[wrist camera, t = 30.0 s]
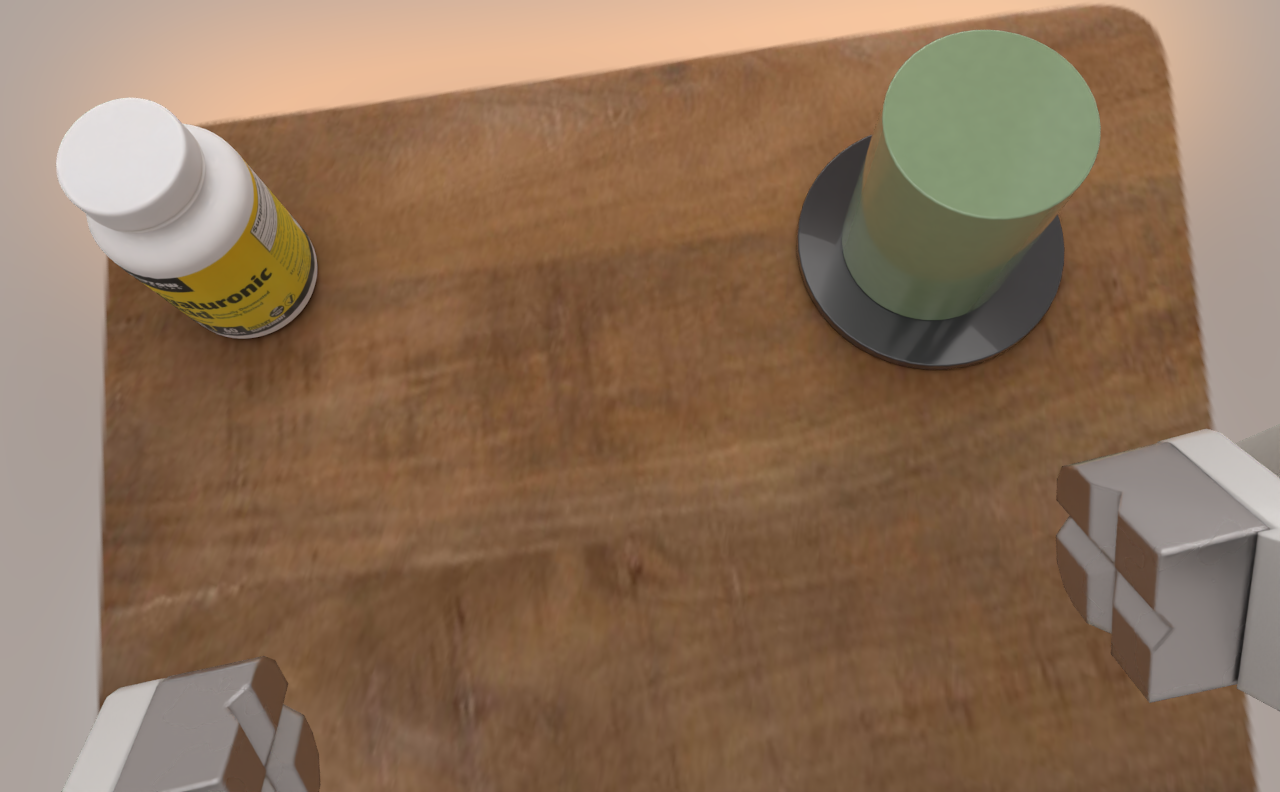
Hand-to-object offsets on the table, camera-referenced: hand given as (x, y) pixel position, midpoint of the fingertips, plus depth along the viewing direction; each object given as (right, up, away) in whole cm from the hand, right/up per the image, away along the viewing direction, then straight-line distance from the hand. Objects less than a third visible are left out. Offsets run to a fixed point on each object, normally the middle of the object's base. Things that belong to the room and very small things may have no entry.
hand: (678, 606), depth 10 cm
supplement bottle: (-16, +7, +29) cm, 34 cm away
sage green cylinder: (+11, +8, +28) cm, 31 cm away
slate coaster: (+11, +8, +28) cm, 31 cm away
